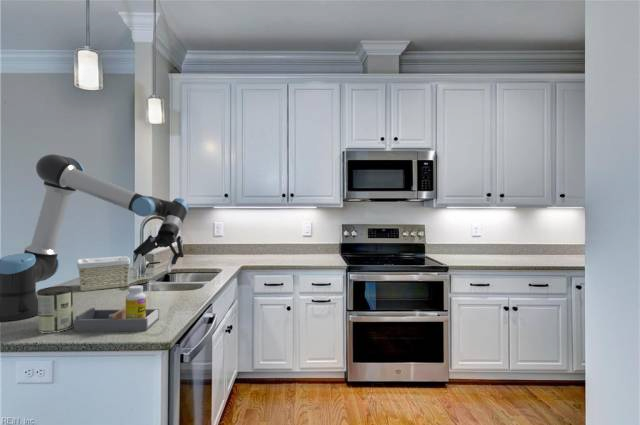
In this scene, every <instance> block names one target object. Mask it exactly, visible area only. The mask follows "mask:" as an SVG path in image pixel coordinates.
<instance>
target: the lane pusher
mask: <svg viewBox="0 0 640 425" xmlns="http://www.w3.org/2000/svg"><path fill="white" fill-rule="evenodd" d="M109 319H126V306H124V307H122V308H121V310H119V311H118V312H116V313H114V314H109Z"/></svg>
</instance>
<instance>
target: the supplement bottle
mask: <svg viewBox="0 0 640 425" xmlns="http://www.w3.org/2000/svg"><path fill="white" fill-rule="evenodd" d="M143 290H144V286H143V285H131V286H128V294H127V295H126V296H125V307H126V319H141V318H146V309H147V296H146V294H145V292H143Z"/></svg>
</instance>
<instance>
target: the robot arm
mask: <svg viewBox="0 0 640 425" xmlns="http://www.w3.org/2000/svg"><path fill="white" fill-rule="evenodd" d="M35 171H36V174H37V175H38V177H39V179H41V180H43V187H44V188H45V189H46V191H45V194H44V197H43V200H42V204H41V206H40V207H41V208H40V211H39V215H38V219H37V223H36V226H35V229H34V232H33V236H32V239H31V243H30V244H29V245H28V246H26V247H25V248H24V252H22V253H15V254H14V253H13V254H8V255H5V256H3V257H0V322H9V321H8V320H13V321H18V320H17V319H20V320H24V319H23V318H26V319H29V318H28V317H30V318H33V317H32V316H34V317H35V315H36V316H38V295H37V288H36V286H37V285H36V283H39V282H43V281H46V280H49V279H50V278H51V277H53V276H54V275H56V273H58V270H59V267H60V260H59V259H58V255H59V251H58V250H57V248H56V247H57V243H58V239H59V237H60V236H59V235H60V232H61V230H62V226H63V221H64V219H65V218H64V217H65V215H66V211H67V208H68V203H69V200H70V197H71V195H72V194H73V193H76V191H79V192H81V193H84V194H86V195H89V196H92V197H95V198H97V199H99V200H102V201H105V202H107V203H110V204H113V205H115V206H117V207H120V208H122V209H126V210H128V211H130V212H132V213H134V214H135V215H137V216H138V217H143V218H144V217H150V216H155V217H160V218H164V219H163V221H162V223H161V225H160V227H159V229H158V231H157V235H156V236H153V235H151V234H150V235H148V236H147V238H146V239H145V240H144V241H143V242H142V243H141V244H139V246H137V247H136V248H135V249H134V250H133V254H134V255H135V258H134V259H133V262H134V263H133V264H132V266H131V268H132V269H133V271H134V272H138V270H139V268H140V266H141V263H142V262H143V260H144V256H145V255H147V254H149V253H150V252H152V251H154V250H155V249H159V248H168V247H169V248H170V251H171V252H172V254H171V256H170V258H169V259H168V262H167V265H166V266H165V270H166V271H167V273H171V271H172V269H173V266H174V265H176V263H177V262H178V259H179V258H184V257H185V255H184V251H183V250H184V249H183V245H182V242H183V238H182V237H181V235H178V234H179V232H180V230H181V227H182V225H183V223H184V220H185V218H186V216H187V214H188V211H189V208H190V204H189V203H188V201H187V200H186V199H183V198H181V197H178V198H174V199H173V200H172V201H171V200H166V199H161V198H157V197H154V196H149V195H142V194H140V193H137V192H135V191H132V190H129V189H127V188H125V187H122V186H120V185H118V184H114V183H113V182H110V181H108V180H105V179H103V178H100V177H98V176H95V175H92V174H89V173H87V172H86V171H85V168H84V166H83V164H82V163H81V162H80V161H78V160H76V159H75V158H72V157H70V156H69V157H68V156H65V155H64V156H63V155H58V154H46V155H44V156H42V157H41V158H39V160H37V162H36V166H35ZM175 242H176V246H177V250H178V252H177V251H176V249H175V247H174V245H173V243H175Z"/></svg>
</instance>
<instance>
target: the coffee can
mask: <svg viewBox="0 0 640 425" xmlns="http://www.w3.org/2000/svg"><path fill="white" fill-rule="evenodd" d="M73 290H74V287H73V286H70V285H58V286H57V285H56V286H49V287H44V288H40V289H38V290H36V294H37V298H38V315H37V316H38V319H37V320H38V325H37V326H38V330H39V332H43V333H50V332H58V331H63V330H66V331H68V330H67V329H69V330H71V329H73V328H74V306H73V305H74V304H73V303H74V302H73V300H74V298H73V296H74V294H73V293H74V292H73ZM72 327H73V328H72ZM70 328H71V329H70ZM39 332H38V333H39ZM63 332H64V331H63ZM43 333H42V334H43ZM58 333H59V332H58ZM50 334H51V333H50Z"/></svg>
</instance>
